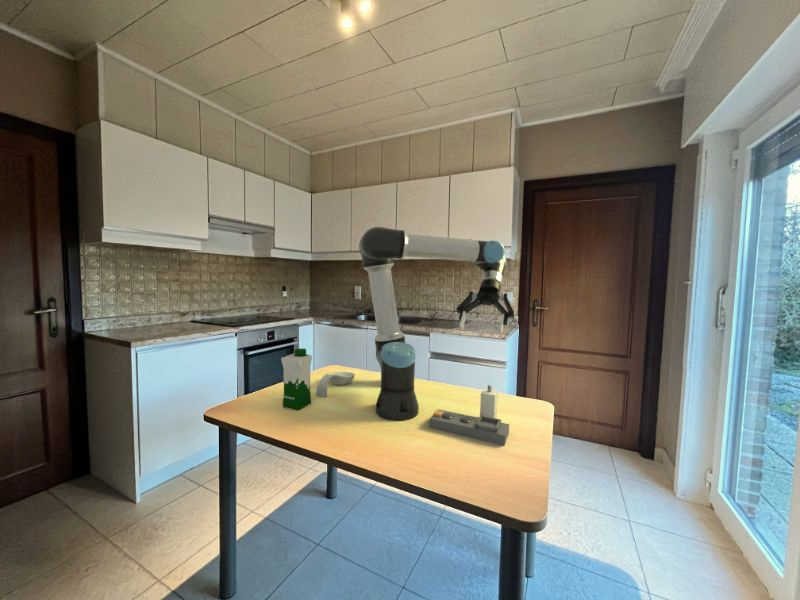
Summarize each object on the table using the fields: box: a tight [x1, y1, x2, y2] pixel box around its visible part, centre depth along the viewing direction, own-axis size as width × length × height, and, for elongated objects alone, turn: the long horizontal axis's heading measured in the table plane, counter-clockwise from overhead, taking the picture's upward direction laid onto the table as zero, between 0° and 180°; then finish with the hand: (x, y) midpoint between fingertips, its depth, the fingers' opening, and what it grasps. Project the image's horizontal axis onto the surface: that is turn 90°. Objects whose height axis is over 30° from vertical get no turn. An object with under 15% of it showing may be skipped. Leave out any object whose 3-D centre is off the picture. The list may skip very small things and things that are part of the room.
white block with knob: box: [479, 384, 499, 419], centre depth 111 cm, size 4×5×12 cm
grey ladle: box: [315, 371, 355, 398], centre depth 140 cm, size 24×12×7 cm, turn 165°
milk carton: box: [280, 348, 313, 411], centre depth 120 cm, size 9×9×20 cm
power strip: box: [429, 409, 510, 446], centre depth 104 cm, size 23×8×4 cm, turn 64°
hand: (480, 329), depth 115 cm, fingers open, 13 cm apart
